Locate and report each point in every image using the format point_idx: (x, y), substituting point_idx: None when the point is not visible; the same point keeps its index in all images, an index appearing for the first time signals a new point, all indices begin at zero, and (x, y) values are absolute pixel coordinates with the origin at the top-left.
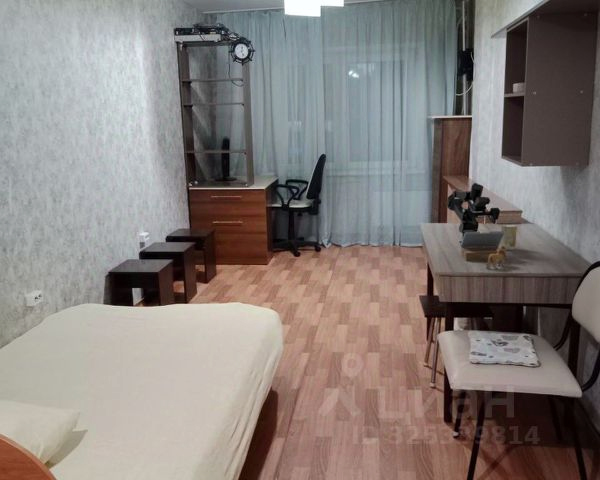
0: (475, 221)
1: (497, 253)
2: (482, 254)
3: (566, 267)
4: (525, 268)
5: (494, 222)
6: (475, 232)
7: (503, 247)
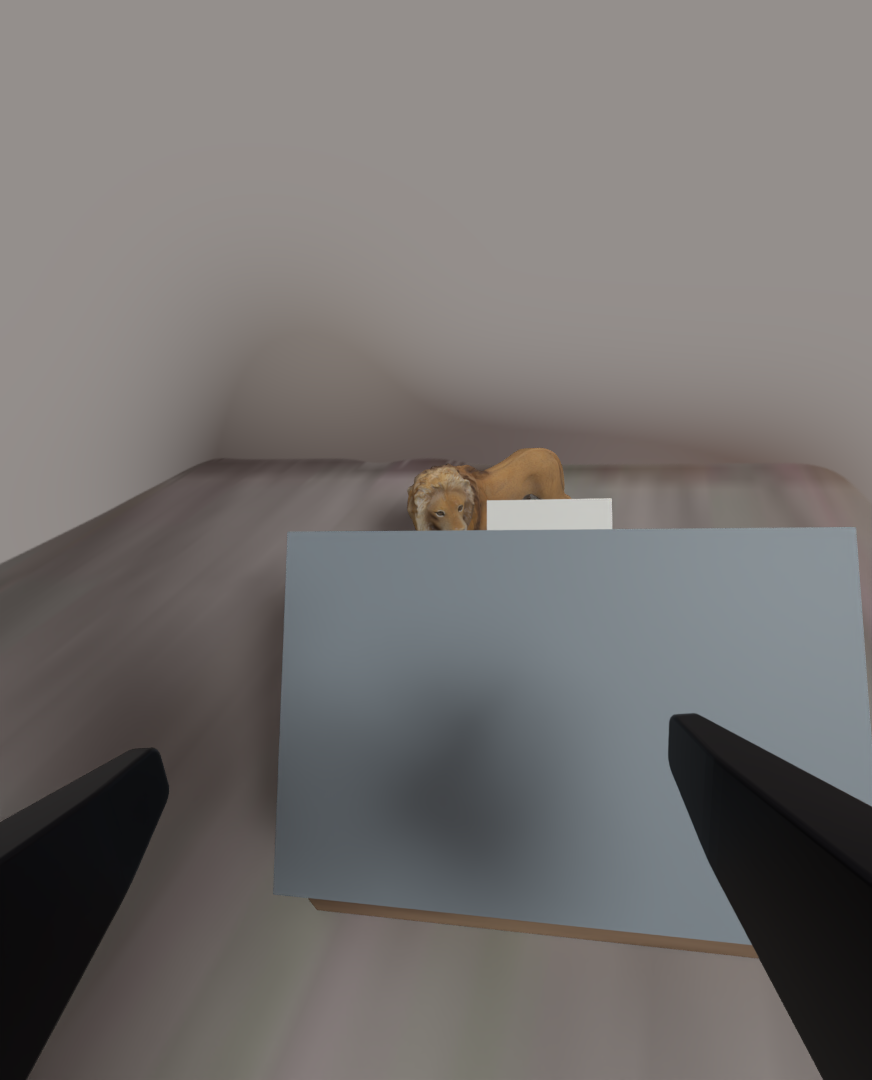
0: (743, 741)
1: (492, 473)
2: None
3: (138, 531)
4: (349, 522)
5: (151, 768)
6: (680, 530)
7: (433, 467)
